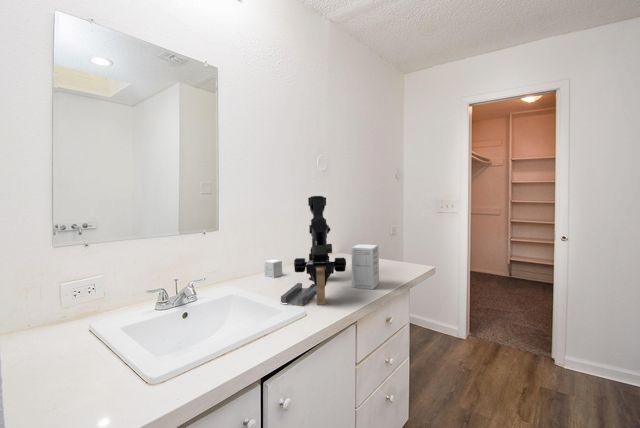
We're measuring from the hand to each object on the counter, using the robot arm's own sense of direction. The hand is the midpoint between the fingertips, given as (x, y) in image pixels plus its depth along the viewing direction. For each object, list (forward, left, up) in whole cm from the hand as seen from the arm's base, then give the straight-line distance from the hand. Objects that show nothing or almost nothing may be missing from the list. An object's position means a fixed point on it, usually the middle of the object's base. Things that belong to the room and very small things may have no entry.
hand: (320, 285), depth 109 cm
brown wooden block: (-1, -1, -7) cm, 7 cm away
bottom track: (0, -11, -7) cm, 13 cm away
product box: (-10, -45, -7) cm, 47 cm away
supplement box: (-29, -4, -7) cm, 30 cm away
